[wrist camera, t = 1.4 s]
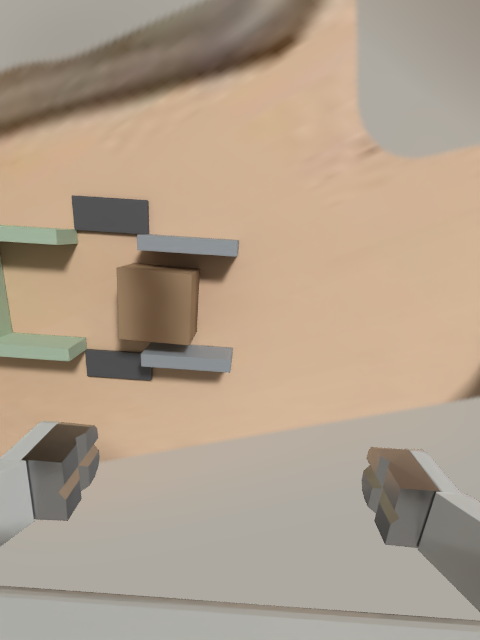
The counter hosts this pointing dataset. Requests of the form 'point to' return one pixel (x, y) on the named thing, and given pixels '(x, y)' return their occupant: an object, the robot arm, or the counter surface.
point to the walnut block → (157, 303)
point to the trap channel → (64, 348)
